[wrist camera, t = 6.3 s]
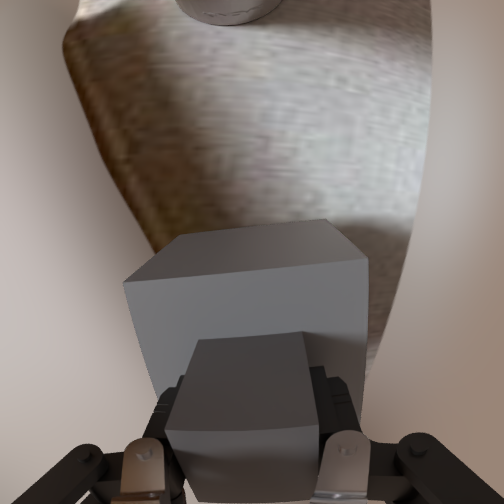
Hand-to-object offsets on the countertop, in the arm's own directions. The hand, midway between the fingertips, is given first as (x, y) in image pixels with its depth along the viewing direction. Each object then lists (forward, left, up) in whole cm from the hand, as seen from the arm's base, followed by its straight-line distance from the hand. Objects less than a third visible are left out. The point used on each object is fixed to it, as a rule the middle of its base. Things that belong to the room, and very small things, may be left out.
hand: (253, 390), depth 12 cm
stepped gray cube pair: (0, 0, -10) cm, 10 cm away
